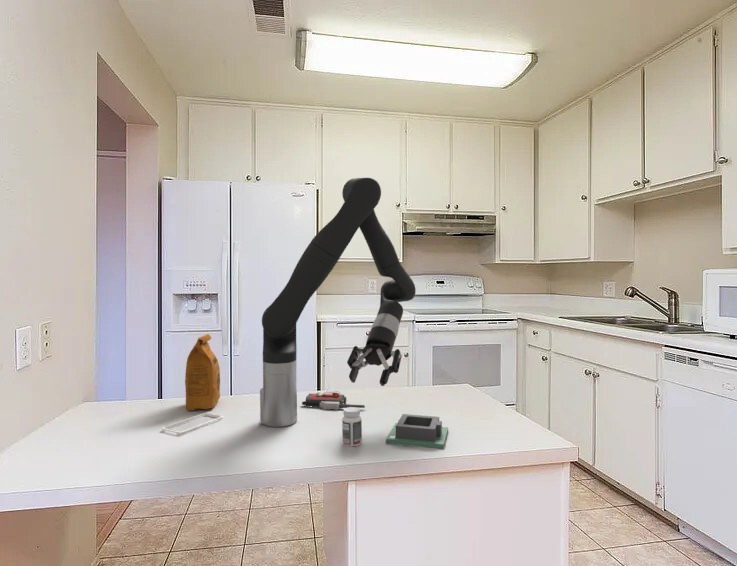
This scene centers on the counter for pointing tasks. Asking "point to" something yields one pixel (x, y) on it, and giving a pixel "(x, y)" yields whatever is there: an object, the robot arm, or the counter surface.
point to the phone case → (191, 420)
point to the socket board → (418, 431)
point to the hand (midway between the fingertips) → (366, 382)
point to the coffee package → (202, 376)
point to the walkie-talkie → (328, 401)
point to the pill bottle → (352, 427)
